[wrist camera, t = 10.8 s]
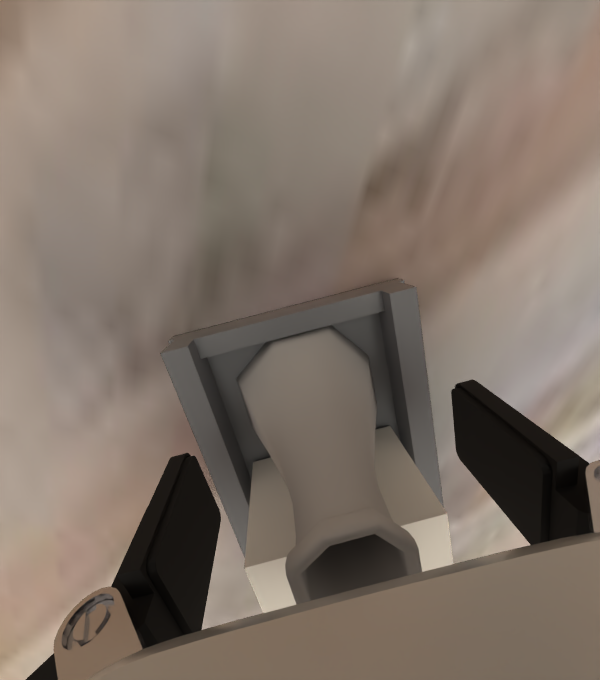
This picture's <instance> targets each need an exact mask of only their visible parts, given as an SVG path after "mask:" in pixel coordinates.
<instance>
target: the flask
mask: <svg viewBox="0 0 600 680" xmlns="http://www.w3.org/2000/svg"><path fill="white" fill-rule="evenodd" d="M236 379H237V382H238V385H239V388H240V391H241V394H242V397H243V400H244V403H245V406H246V409H247V412H248V415H249V418H250V421H251V424H252V427H253V429H254V430H255V432H256V434H257V435H258V437H259V439H260V440H261V442H262V443H263V445H264V446H265V448H266V450H267V451H268V453H269V454H270V456H271V458H272V460H273V462H274V463H275V465H276V467H277V469H278V471H279V473H280V474H281V476H282V478H283V480H284V482H285V484H286V485H287V487H288V490H289V493H290V496H291V500H292V503H293V512H294V522H295V531H296V546H295V547H294V548H293V549H292V550H291V551H290V552H289V553H288V555H287V558H286V563H285V569H286V576H287V579H288V582H289V585H290V588H291V591H292V593H293V596H294V599H295V602H296V605H297V604H300V603H304V602H308V601H312V600H315V599H319V598H323V597H327V596H331V595H335V594H339V593H342V592H346V591H350V590H354V589H358V588H362V587H366V586H369V585H373V584H377V583H381V582H385V581H389V580H393V579H397V578H401V577H405V576H408V575H412V574H416V573H420V572H422V567H421V561H420V555H419V549H418V546H417V544H416V541H415V539H414V538H413V537H412V536H411V534H410V533H409V532H408V531H407V530H405V529H404V528H402V527H401V526H399V525H397V524H396V523H394V522H393V520H392V518H391V516H390V514H389V511H388V509H387V506H386V504H385V502H384V499H383V497H382V494H381V492H380V490H379V487H378V483H377V478H376V473H375V428H376V415H377V402H376V396H375V390H374V385H373V379H372V373H371V368H370V362H369V356H368V355H367V354H366V353H365V352H363V351H362V350H361V349H360V348H358V347H357V346H356V345H355V344H354V343H352V342H351V341H350V340H349V339H347V338H346V337H345V336H344V335H343V334H341V333H340V332H339V331H338V330H336V329H335V328H334V327H333V326H332V325H329V326H326V327H322V328H318V329H314V330H310V331H306V332H303V333H299V334H295V335H291V336H287V337H283V338H279V339H276V340H272V341H268V342H266V343H265V344H264V346H263V347H262V348H261V349H260V350H259V352H258V353H257V354H256V355H255V357H254V358H253V359H252V360H251V361H250V363H249V364H248V365H247V366H246V367H245V369H244V370H243V371H242V372H241V373H240V375H239V376H238V377H237V378H236Z"/></svg>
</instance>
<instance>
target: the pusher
mask: <svg viewBox="0 0 600 680" xmlns="http://www.w3.org/2000/svg"><path fill="white" fill-rule="evenodd" d="M375 473H376V478H377V483H378V487H379V490H380V492H381V494H382V497H383V499H384V502H385V504H386V506H387V509H388V511H389V514H390V516H391V518H392V520H393V522H394V523H396V524H397V525H399V526H401V527H402V528H404V529H405V530H407V531H408V532H409V533H410V534H411V536H412V537H413V538H414V539H415V541H416V544H417V546H418V549H419V555H420V561H421V567H422V572H424V571H428V570H432V569H436V568H440V567H444V566H448V565H452V564H453V556H452V548H451V540H450V531H449V523H448V515H447V512H446V511H445V509H444V508H443V506H442V505H441V503H440V502H439V500H438V498H437V497H436V495H435V494H434V492H433V491H432V489H431V488H430V486H429V485H428V483H427V482H426V480H425V479H424V477H423V476H422V474H421V472H420V471H419V469H418V468H417V466H416V465H415V463H414V462H413V460H412V459H411V457H410V456H409V454H408V453H407V451H406V449H405V448H404V446H403V445H402V443H401V442H400V440H399V439H398V437H397V436H396V434H395V433H394V431H393V430H392V428H391V427H390V426H387V427H384V428H380V429H376V430H375ZM295 546H296V531H295V522H294V512H293V503H292V500H291V496H290V493H289V490H288V487H287V485H286V484H285V482H284V480H283V478H282V476H281V474H280V473H279V471H278V469H277V467H276V465H275V463H274V462H273V460H272V458H271V457H270V458H266V459H263V460H259V461H255V462H253V469H252V481H251V493H250V505H249V517H248V529H247V541H246V553H245V565H244V569H245V571H246V574H247V576H248V578H249V581H250V583H251V585H252V588H253V590H254V593H255V595H256V597H257V600H258V602H259V604H260V607H261V609H262V612H263V613H266V612H270V611H274V610H278V609H281V608H285V607H289V606H293V605H296V602H295V599H294V596H293V593H292V591H291V588H290V585H289V582H288V579H287V576H286V569H285V563H286V558H287V555H288V553H289V552H290V551H291V550H292V549H293V548H294V547H295Z"/></svg>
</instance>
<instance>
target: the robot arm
mask: <svg viewBox="0 0 600 680" xmlns="http://www.w3.org/2000/svg"><path fill="white" fill-rule="evenodd" d="M451 394H452V406H453V419H454V431H455V443H456V452H457V454H458V457H459V458H460V460H461V461H462V462H463V464H464V465H465V466H466V467H467V468H468V470H469V471H470V472H471V473H472V474H473V476H474V477H475V478H476V479H477V481H478V482H479V483H480V484H481V485H482V487H483V488H484V489H485V490H486V491H487V493H488V494H489V495H490V496H491V497H492V499H493V500H494V501H495V502H496V503H497V505H498V506H499V507H500V508H501V509H502V511H503V512H504V513H505V514H506V515H507V517H508V518H509V519H510V520H511V521H512V523H513V524H514V525H515V526H516V527H517V529H518V530H519V531H520V532H521V534H522V535H523V536H524V537H525V538H526V540H527V541H528V542H529V543H530V544H531V545H530V546H525V547H521V548H517V549H512V550H508V551H504V552H500V553H496V554H492V555H488V556H484V557H480V558H476V559H472V560H468V561H464V562H460V563H456V564H452V565H448V566H444V567H440V568H436V569H432V570H428V571H424V572H420V573H416V574H412V575H408V576H405V577H401V578H397V579H393V580H389V581H385V582H381V583H377V584H373V585H369V586H366V587H362V588H358V589H354V590H350V591H346V592H342V593H339V594H335V595H331V596H327V597H323V598H319V599H315V600H312V601H308V602H304V603H300V604H297V605H293V606H289V607H285V608H281V609H278V610H274V611H270V612H266V613H262V614H259V615H255V616H251V617H247V618H244V619H240V620H236V621H232V622H229V623H225V624H222V625H218V626H215V627H211V628H208V629H204V630H201V629H202V623H203V617H204V612H205V606H206V601H207V595H208V589H209V584H210V578H211V573H212V567H213V561H214V556H215V550H216V545H217V539H218V533H219V528H220V522H221V516H220V511H219V508H218V506H217V504H216V502H215V499H214V497H213V495H212V493H211V490H210V488H209V486H208V483H207V481H206V479H205V477H204V474H203V472H202V470H201V468H200V465H199V463H198V461H197V459H196V457H195V456H191V455H190V454H189V453H185V454H182V455H178V456H174V457H171V458H170V460H169V462H168V464H167V466H166V468H165V471H164V473H163V475H162V477H161V479H160V482H159V484H158V486H157V488H156V490H155V493H154V495H153V497H152V499H151V501H150V504H149V506H148V508H147V509H146V511H145V514H144V516H143V518H142V520H141V522H140V525H139V527H138V529H137V531H136V533H135V536H134V538H133V540H132V542H131V544H130V547H129V549H128V551H127V553H126V555H125V558H124V560H123V562H122V564H121V566H120V569H119V571H118V573H117V575H116V577H115V579H114V582H113V584H112V586H111V587H105V588H101V589H99V590H97V591H95V592H93V593H91V594H90V595H88V596H87V597H86V598H84V599H83V600H82V601H81V602H80V603H79V604H77V605H76V606H75V607H74V608H73V610H72V611H71V612H70V613H69V614H68V616H67V617H66V618H65V620H64V621H63V623H62V625H61V626H60V628H59V630H58V632H57V635H56V638H55V640H54V654H53V655H51V656H50V657H49V658H48V659H47V660H46V661H45V662H44V663H43V664H42V665H41V666H40V667H39V668H38V669H37V670H35V671H34V672H33V673H32V674H31V675H30V676H29V677H28V678H27V679H26V680H600V460H598V461H595V462H592V463H590V464H589V463H588V462H587V461H585V460H584V459H582V458H581V457H580V456H579V455H577V454H576V453H574V452H573V451H572V450H570V449H569V448H568V447H566V446H565V445H563V444H562V443H561V442H559V441H558V440H556V439H555V438H554V437H552V436H551V435H550V434H548V433H547V432H545V431H544V430H543V429H541V428H540V427H539V426H537V425H536V424H534V423H533V422H532V421H530V420H529V419H528V418H526V417H525V416H523V415H522V414H521V413H519V412H518V411H517V410H515V409H514V408H512V407H511V406H510V405H508V404H507V403H506V402H504V401H503V400H501V399H500V398H499V397H497V396H496V395H494V394H493V393H492V392H490V391H489V390H488V389H486V388H485V387H483V386H482V385H481V384H479V383H478V382H477V381H475V380H469V381H465V382H462V383H458V384H456V386H455V389H452V392H451Z"/></svg>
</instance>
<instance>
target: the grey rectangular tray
mask: <svg viewBox="0 0 600 680" xmlns="http://www.w3.org/2000/svg"><path fill="white" fill-rule="evenodd" d="M329 325H332V326H333V327H334V328H335V329H336V330H338V331H339V332H340V333H341V334H343V335H344V336H345V337H346V338H347V339H349V340H350V341H351V342H352V343H354V344H355V345H356V346H357V347H358V348H360V349H361V350H362V351H363V352H365V353H366V354H367V355H368V356H369V362H370V368H371V373H372V379H373V385H374V390H375V396H376V402H377V415H376V428H375V430H376V429H380V428H384V427H387V426H390V427H391V428H392V430H393V431H394V433H395V434H396V436H397V437H398V439H399V440H400V442H401V443H402V445H403V446H404V448H405V449H406V451H407V453H408V454H409V456H410V457H411V459H412V460H413V462H414V463H415V465H416V466H417V468H418V469H419V471H420V472H421V474H422V476H423V477H424V479H425V480H426V482H427V483H428V485H429V486H430V488H431V489H432V491H433V492H434V494H435V495H436V497H437V498H438V500H439V502H440V503H441V505H442V506H443V498H442V490H441V482H440V474H439V466H438V458H437V450H436V442H435V434H434V426H433V418H432V410H431V401H430V393H429V385H428V377H427V369H426V361H425V353H424V345H423V337H422V329H421V321H420V313H419V305H418V297H417V289H416V287H415V286H412V285H408V284H405V283H404V280H402V279H398V278H397V279H393V280H390V281H386V282H382V283H378V284H374V285H370V286H366V287H363V288H359V289H355V290H351V291H347V292H343V293H339V294H336V295H332V296H328V297H324V298H320V299H316V300H312V301H308V302H305V303H301V304H297V305H293V306H289V307H285V308H281V309H278V310H274V311H270V312H266V313H262V314H258V315H254V316H251V317H247V318H243V319H239V320H235V321H231V322H227V323H224V324H220V325H216V326H212V327H208V328H204V329H200V330H197V331H193V332H189V333H185V334H181V335H177V336H173V337H172V338H171V339H170V340H169V341H168V342H169V345H168V346H167V347H166V348H165V349H164V350H163V351H162V352H161V353H160V354H161V356H162V359H163V361H164V363H165V366H166V368H167V371H168V373H169V375H170V378H171V380H172V383H173V385H174V388H175V390H176V392H177V395H178V397H179V400H180V402H181V405H182V407H183V409H184V412H185V414H186V417H187V419H188V421H189V424H190V426H191V429H192V431H193V434H194V436H195V438H196V441H197V443H198V446H199V448H200V451H201V453H202V455H203V458H204V460H205V463H206V465H207V467H208V470H209V472H210V475H211V477H212V480H213V482H214V484H215V487H216V489H217V492H218V494H219V497H220V499H221V501H222V504H223V506H224V509H225V511H226V513H227V516H228V518H229V521H230V523H231V526H232V528H233V530H234V533H235V535H236V538H237V540H238V543H239V545H240V547H241V550H242V552H243V555H244V557H245V553H246V541H247V529H248V517H249V505H250V493H251V481H252V469H253V462H255V461H259V460H263V459H266V458H270V457H271V456H270V454H269V453H268V451H267V450H266V448H265V446H264V445H263V443H262V442H261V440H260V439H259V437H258V435H257V434H256V432H255V430H254V429H253V427H252V424H251V421H250V418H249V415H248V412H247V409H246V406H245V403H244V400H243V397H242V394H241V391H240V388H239V385H238V382H237V379H236V378H237V377H238V376H239V375H240V373H241V372H242V371H243V370H244V369H245V367H246V366H247V365H248V364H249V363H250V361H251V360H252V359H253V358H254V357H255V355H256V354H257V353H258V352H259V350H260V349H261V348H262V347H263V346H264V344H265V343H266V342H268V341H272V340H276V339H279V338H283V337H287V336H291V335H295V334H299V333H303V332H306V331H310V330H314V329H318V328H322V327H326V326H329ZM443 508H444V506H443Z"/></svg>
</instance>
